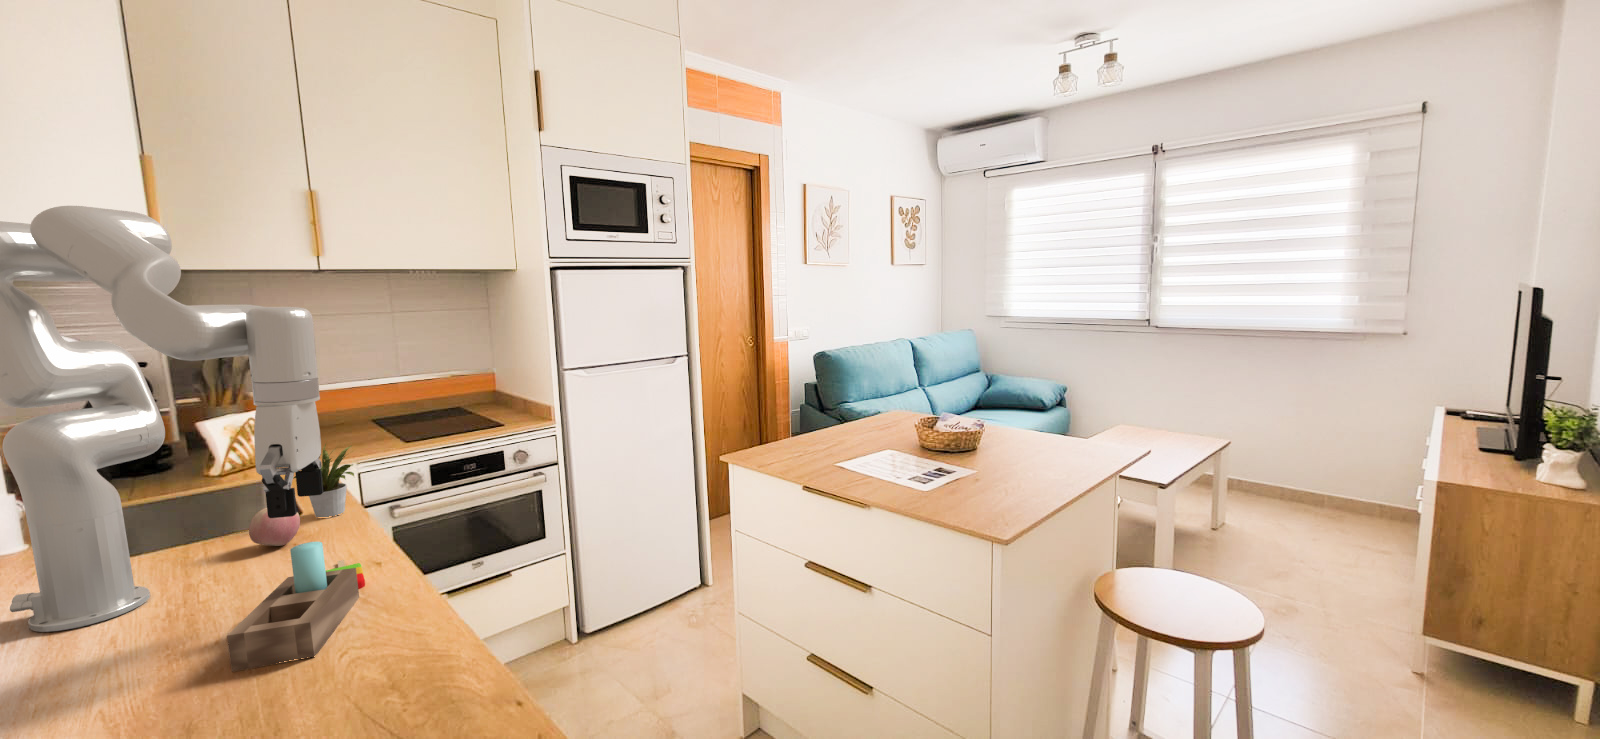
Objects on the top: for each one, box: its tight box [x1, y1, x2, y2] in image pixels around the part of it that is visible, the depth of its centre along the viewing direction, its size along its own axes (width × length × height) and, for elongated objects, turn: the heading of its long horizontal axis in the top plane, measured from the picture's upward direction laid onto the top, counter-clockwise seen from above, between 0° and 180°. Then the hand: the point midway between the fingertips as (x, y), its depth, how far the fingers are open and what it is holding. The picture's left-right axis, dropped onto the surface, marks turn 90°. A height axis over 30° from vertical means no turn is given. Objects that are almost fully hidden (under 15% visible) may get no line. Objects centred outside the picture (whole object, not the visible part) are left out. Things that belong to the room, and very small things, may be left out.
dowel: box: [289, 541, 327, 593], centre depth 95 cm, size 4×4×11 cm
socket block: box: [226, 568, 360, 673], centre depth 91 cm, size 9×18×5 cm, turn 19°
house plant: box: [293, 443, 356, 517], centre depth 139 cm, size 14×14×16 cm
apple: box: [248, 507, 301, 547], centre depth 123 cm, size 8×8×8 cm
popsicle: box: [325, 559, 366, 590], centre depth 109 cm, size 6×15×2 cm, turn 38°
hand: (297, 505), depth 94 cm, fingers open, 9 cm apart
